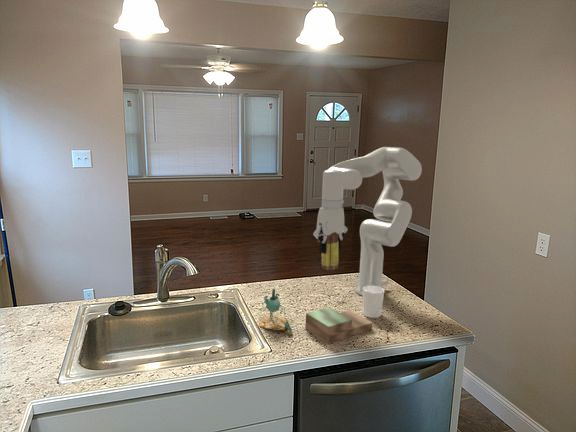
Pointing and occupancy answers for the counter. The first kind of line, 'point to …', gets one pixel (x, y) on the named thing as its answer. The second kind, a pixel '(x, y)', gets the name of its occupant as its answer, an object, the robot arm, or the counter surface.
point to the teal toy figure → (273, 321)
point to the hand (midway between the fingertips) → (329, 251)
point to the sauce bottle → (331, 252)
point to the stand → (335, 324)
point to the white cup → (372, 301)
